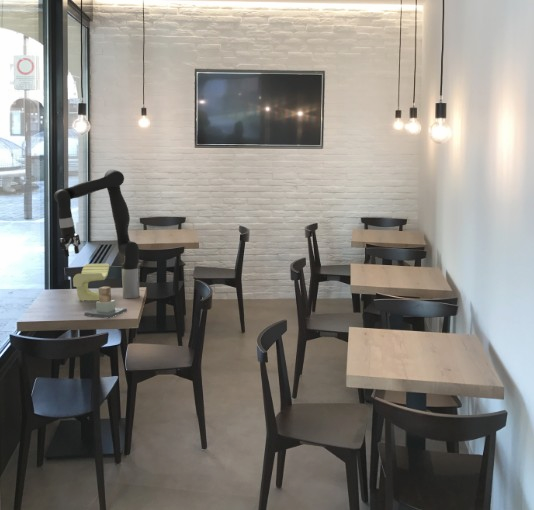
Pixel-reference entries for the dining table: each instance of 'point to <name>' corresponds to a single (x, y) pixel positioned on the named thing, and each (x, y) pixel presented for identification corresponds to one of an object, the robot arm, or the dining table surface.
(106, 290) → the oak block
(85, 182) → the robot arm
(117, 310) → the tower board
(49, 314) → the dining table surface
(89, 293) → the slatted curved stool
